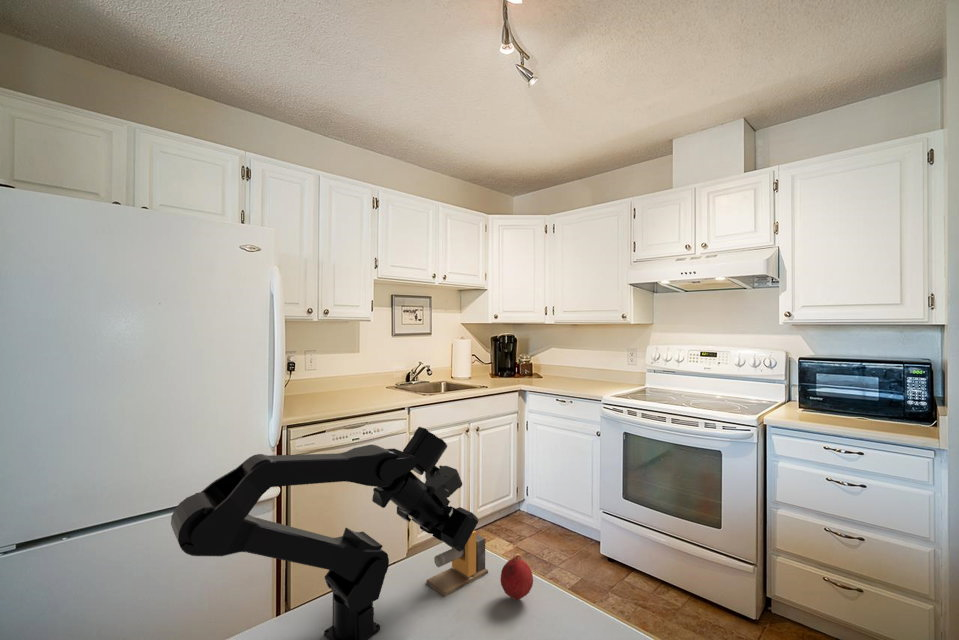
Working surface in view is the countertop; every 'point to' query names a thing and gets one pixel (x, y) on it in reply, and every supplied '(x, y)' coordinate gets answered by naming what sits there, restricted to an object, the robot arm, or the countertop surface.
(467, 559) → the collar
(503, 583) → the onion
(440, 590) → the pipe stand
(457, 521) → the robot arm
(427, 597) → the countertop surface
